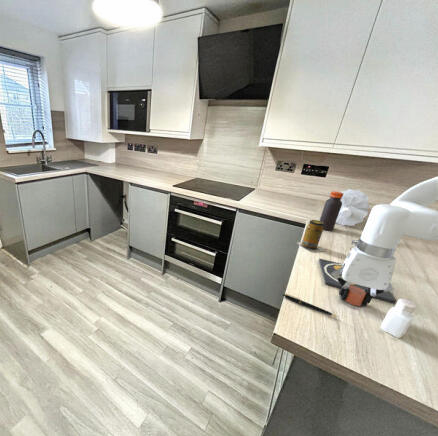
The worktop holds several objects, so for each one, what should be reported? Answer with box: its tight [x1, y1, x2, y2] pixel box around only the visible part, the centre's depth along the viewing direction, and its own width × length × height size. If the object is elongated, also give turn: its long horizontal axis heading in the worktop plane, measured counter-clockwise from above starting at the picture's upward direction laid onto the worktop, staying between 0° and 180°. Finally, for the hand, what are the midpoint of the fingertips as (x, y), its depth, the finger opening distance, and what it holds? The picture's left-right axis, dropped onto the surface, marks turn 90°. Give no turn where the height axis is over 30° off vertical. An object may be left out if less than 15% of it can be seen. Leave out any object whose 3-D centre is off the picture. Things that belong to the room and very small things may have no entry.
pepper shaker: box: [380, 298, 418, 339], centre depth 60 cm, size 4×4×10 cm
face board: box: [318, 257, 397, 304], centre depth 83 cm, size 18×18×1 cm
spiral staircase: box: [335, 188, 370, 227], centre depth 135 cm, size 18×18×25 cm
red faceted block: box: [344, 286, 366, 307], centre depth 72 cm, size 4×4×4 cm
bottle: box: [319, 190, 343, 232], centre depth 123 cm, size 7×7×20 cm
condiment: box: [297, 219, 326, 253], centre depth 103 cm, size 7×8×12 cm
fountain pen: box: [282, 293, 339, 318], centre depth 69 cm, size 14×1×2 cm, turn 52°
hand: (352, 299), depth 72 cm, fingers closed on red faceted block, 4 cm apart
